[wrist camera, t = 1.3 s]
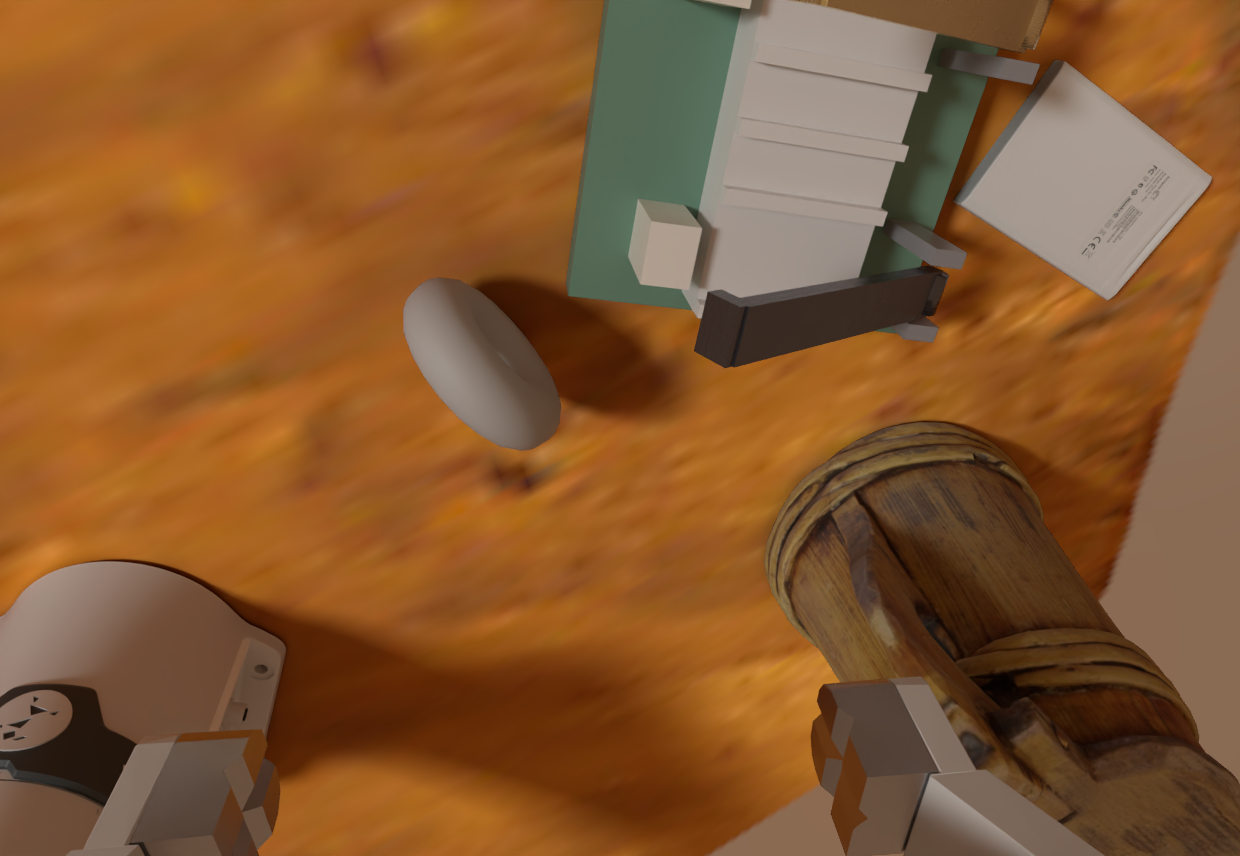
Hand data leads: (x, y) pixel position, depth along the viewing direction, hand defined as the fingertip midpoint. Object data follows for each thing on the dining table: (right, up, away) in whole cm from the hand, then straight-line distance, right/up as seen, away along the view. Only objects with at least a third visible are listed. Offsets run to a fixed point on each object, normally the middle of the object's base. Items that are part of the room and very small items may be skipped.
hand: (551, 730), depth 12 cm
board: (+9, +20, +28) cm, 36 cm away
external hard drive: (+27, +18, +33) cm, 46 cm away
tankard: (+18, -1, +43) cm, 46 cm away
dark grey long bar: (+10, +10, +23) cm, 27 cm away
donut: (-6, +10, +32) cm, 34 cm away
